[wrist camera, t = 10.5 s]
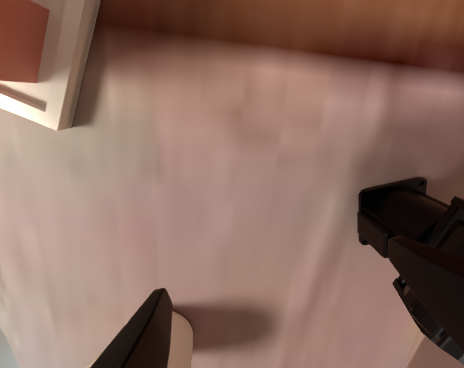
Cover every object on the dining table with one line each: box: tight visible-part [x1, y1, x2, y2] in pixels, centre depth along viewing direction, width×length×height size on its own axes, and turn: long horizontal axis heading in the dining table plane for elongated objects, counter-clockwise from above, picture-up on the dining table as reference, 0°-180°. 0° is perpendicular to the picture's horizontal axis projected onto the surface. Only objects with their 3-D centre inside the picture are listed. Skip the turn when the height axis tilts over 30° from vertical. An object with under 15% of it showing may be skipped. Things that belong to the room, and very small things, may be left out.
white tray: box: [0, 0, 101, 131], centre depth 15 cm, size 10×10×2 cm
